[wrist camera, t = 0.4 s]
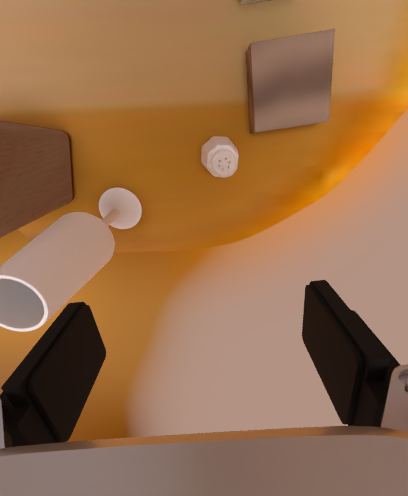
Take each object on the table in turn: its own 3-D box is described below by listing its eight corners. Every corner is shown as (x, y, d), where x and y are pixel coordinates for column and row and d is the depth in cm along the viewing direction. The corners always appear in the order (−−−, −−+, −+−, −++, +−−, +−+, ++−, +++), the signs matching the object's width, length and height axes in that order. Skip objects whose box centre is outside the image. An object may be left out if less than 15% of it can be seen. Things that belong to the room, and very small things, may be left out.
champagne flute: (111, 234, 41) (2, 350, 19) (90, 195, 38) (-63, 278, 16) (148, 221, 40) (80, 328, 18) (130, 181, 37) (24, 248, 15)
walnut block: (245, 53, 31) (250, 43, 27) (319, 41, 31) (334, 28, 27) (249, 132, 35) (255, 132, 31) (315, 122, 34) (329, 121, 31)
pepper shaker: (231, 128, 34) (242, 126, 24) (242, 167, 36) (256, 180, 26) (194, 142, 35) (190, 146, 25) (207, 180, 37) (207, 197, 27)
